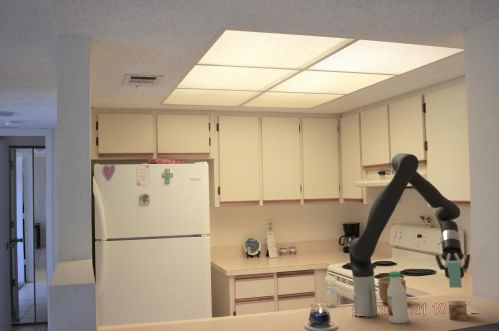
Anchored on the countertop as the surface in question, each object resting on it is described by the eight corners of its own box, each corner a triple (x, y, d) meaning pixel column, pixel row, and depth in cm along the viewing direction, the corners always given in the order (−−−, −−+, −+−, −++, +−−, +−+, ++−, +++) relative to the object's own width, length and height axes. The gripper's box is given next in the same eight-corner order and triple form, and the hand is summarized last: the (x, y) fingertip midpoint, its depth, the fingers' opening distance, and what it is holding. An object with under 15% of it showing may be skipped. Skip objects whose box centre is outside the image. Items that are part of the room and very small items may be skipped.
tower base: (450, 319, 199) (448, 304, 199) (449, 315, 205) (448, 300, 205) (467, 320, 197) (466, 305, 197) (466, 315, 203) (465, 300, 203)
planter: (410, 305, 223) (408, 281, 224) (383, 307, 224) (381, 283, 224) (402, 298, 236) (401, 276, 236) (377, 300, 236) (375, 277, 236)
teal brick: (449, 287, 200) (447, 262, 200) (449, 284, 204) (447, 260, 204) (461, 287, 198) (459, 262, 199) (461, 284, 203) (458, 260, 203)
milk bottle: (410, 319, 203) (406, 270, 204) (406, 324, 197) (401, 274, 197) (391, 317, 207) (387, 270, 208) (386, 323, 201) (382, 273, 201)
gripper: (432, 238, 211) (435, 272, 199) (468, 237, 206) (474, 271, 195) (433, 248, 216) (436, 282, 204) (469, 247, 211) (474, 282, 199)
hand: (454, 277), depth 199 cm, fingers closed on teal brick, 4 cm apart
